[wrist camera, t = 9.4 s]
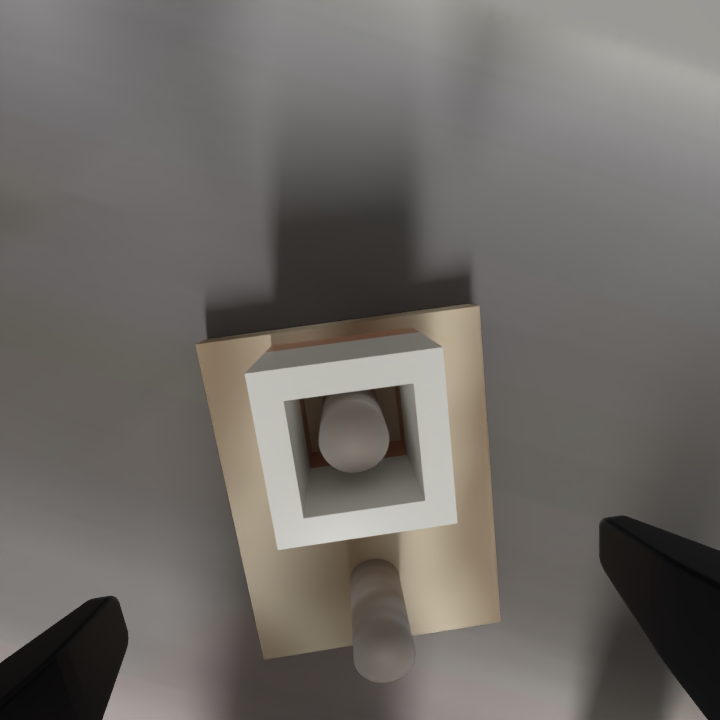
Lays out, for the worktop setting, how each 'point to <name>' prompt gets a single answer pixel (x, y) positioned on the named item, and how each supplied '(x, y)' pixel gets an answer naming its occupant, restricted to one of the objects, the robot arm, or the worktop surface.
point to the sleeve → (368, 488)
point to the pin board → (374, 553)
